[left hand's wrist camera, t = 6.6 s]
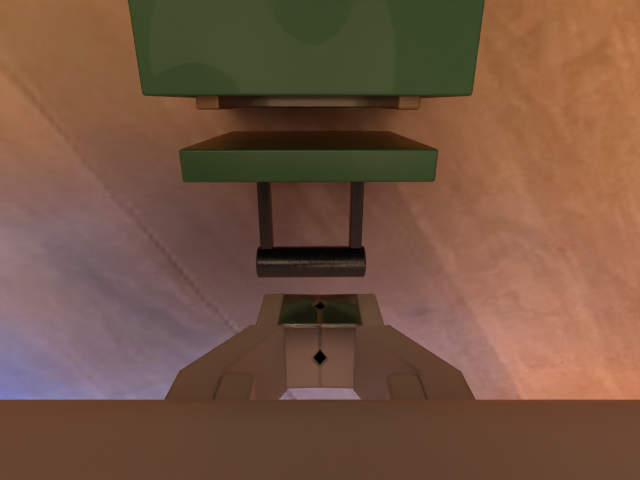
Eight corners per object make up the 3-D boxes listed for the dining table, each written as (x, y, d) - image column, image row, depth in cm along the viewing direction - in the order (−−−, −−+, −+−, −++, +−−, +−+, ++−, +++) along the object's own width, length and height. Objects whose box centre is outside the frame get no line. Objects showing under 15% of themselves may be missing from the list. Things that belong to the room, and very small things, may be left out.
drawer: (383, 242, 24) (420, 316, 16) (239, 242, 24) (199, 318, 16) (406, -118, 18) (489, -316, 9) (210, -120, 18) (117, -323, 9)
